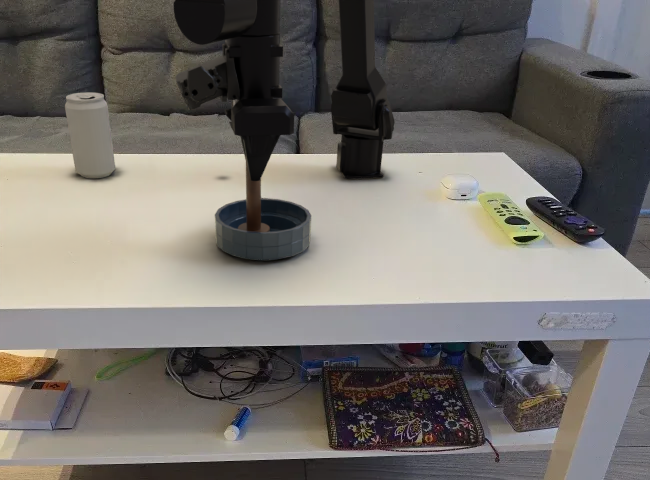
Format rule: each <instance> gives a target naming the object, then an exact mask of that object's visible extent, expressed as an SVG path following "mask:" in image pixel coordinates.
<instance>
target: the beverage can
mask: <svg viewBox="0 0 650 480" xmlns="http://www.w3.org/2000/svg"><path fill="white" fill-rule="evenodd" d="M65 100H66V102H65V104H64V109H65V116H66V121H67V128H68V134H69V141H70V148H71V153H72V158H73V165H74V170H75V172H76V174H78V175H80V176H81V177H83V178H86V179H102V178H106V177H109V176H110V175H112V173H113V172H115V170H116V161H115V154H114V153H115V152H114V145H113V138H112V130H111V122H110V116H109V115H110V114H109V113H110V112H109V108H108V107H109V106H108V102H107V101H106V100H105V94H103V93H100V92H86V91H85V92H75V93H70V94H68V95H66V96H65Z"/></svg>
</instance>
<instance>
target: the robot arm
mask: <svg viewBox="0 0 650 480" xmlns="http://www.w3.org/2000/svg"><path fill="white" fill-rule="evenodd" d="M338 13H339V15H338V16H339V31H340V32H339V35H340V50H341V51H340V52H341V68H342V73H341V77H340V79H339V80H338V82H337V84H336V86H335V88H334V89H333V90H332V92H331V94H330V99H331V104H330V105H331V106H330V109H331V110H330V114H331V124H332V134H333V135H335V136H337V135H340V136H341V137H340V142H338V143H337V148H336V149H337V151H336V166H335V168H336V169H337V170H338V172H339V173H340V174H341V176H342V177H343V179H345V180H357V179H358V180H360V179H380V178H381V179H382V178H384V176H385V174H384V173H383V172H382V171H381V169H382V161H383V151H384V141H388V140H392V139H393V132H394V131H395V123H396V121H395V117H394V114H393V110H392V106H391V103H390V101H389V99H388V92H387V91H388V89H387V83H386V81H385V80H384V78H383V76H382V75H381V73H380V71H379V70H378V69H377V67H376V44H375V43H376V42H375V41H376V40H375V39H376V37H375V36H376V35H375V33H376V32H375V0H338ZM173 14H174V19H175V22H176V25H177V27H178V29H179V30H180V32H181V33H182V35H183V36H184V37H185V38H186V39H187V40H188V41H190V42H191V43H193V44H196V45H200V46H204V45H209V44H213V43H217V42H221V41H224V43H222V45H221V46H222V47H221V48H222V49H221V50H222V55H220V56H218V57H215V58H213V59H210V60H206V61H205V62H202V63H198V64H196V65H195V66H193V67H188V68H187V69H185V70H183V71H181V72H179V73H177V74H176V75H175V82H176V84H177V88H178V90H179V91H180V95H181V96H182V99H183V101H184V104H185V107H186V109H187V110H188V111H193V110H195V109H199V108H200V107H201V106H202V105H203V104H206V103H207V102H210V101H212V100H215V99H217V98H220V101H221V103H227V102H228V101H231V108H225V109H224V113H225V115H226V117H227V119H229V120H230V121H228V123H229V126H230V128H231V130H232V132H233V134H234V136H238V137H240V141H241V145H242V150H243V155H244V160H245V161H246V158H247V164H248V169H249V174H250V179H251V181H260V179H261V180H262V177H263V175H264V172H265V171H266V168H267V167H268V166H267V165H268V163H269V161H270V159H271V156H272V154H273V152H274V150H275V148H276V146H277V143H278V142H279V139H280V137H281V136H290V135H293V134H295V113H294V111H292V109H291V108H290V107H289V106H288V105H287V103H286V102H285V101H284V100H283V87H282V85H281V84H280V65H281V64H280V63H281V62H280V61H281V59H280V58H283V57H284V46H283V45H282V44H281V0H174V1H173Z"/></svg>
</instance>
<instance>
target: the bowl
mask: <svg viewBox="0 0 650 480" xmlns="http://www.w3.org/2000/svg"><path fill="white" fill-rule="evenodd" d="M243 223H246V199H240V200H235V201H232V202H229V203H226V204H224V205H222V206H221V207H219V208H218V209H217V210H216V212H215V213H214V233H215V242H216V246H217V247H218V248H219V249H220V250H221V251H223V252H224V253H227V254H229V255H231V256H233V257H236V258H237V257H238V258H241V259H245V260H250V261H261V262H262V261H263V262H264V261H265V262H266V261H276V260H282V259H286V258H290V257H294V256H297V255H298V254H301V253H302V252H304V251H305V250H306V249H307V248H309V246H310V243H311V235H312V234H311V233H312V232H311V230H312V214H311V212H310V210H309V209H307V208H306V207H305V206H303V205H301V204H299V203H297V202H296V203H295V202H294V201H291V200H290V201H289V200H285V199H280V198H268V197H267V198H266V197H261V223H264V224H266V225H268V226H269V228H270V232H252V231H245V230H240V229H238V226H239V225H241V224H243Z"/></svg>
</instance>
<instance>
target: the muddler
mask: <svg viewBox="0 0 650 480" xmlns="http://www.w3.org/2000/svg"><path fill="white" fill-rule="evenodd" d="M261 198H262V178H261V179H260V181H251V179H250V174H249V169H248V164H247V158H246V160H245V200H246V223H243V224H241V225H239V226H238V229H240V230H245V231H252V232H270V228H269V226H268V225H266V224H264V223H261Z"/></svg>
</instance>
